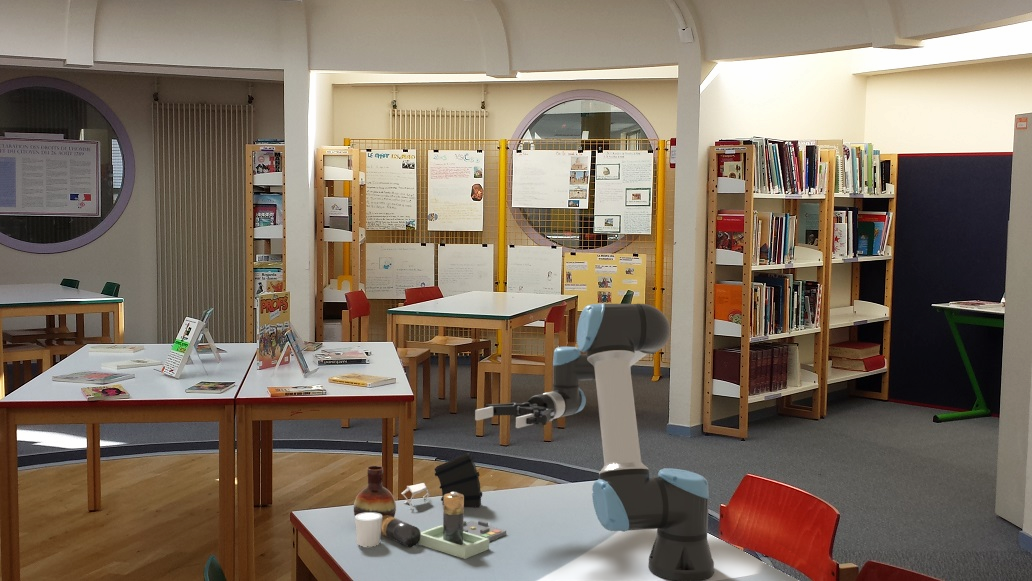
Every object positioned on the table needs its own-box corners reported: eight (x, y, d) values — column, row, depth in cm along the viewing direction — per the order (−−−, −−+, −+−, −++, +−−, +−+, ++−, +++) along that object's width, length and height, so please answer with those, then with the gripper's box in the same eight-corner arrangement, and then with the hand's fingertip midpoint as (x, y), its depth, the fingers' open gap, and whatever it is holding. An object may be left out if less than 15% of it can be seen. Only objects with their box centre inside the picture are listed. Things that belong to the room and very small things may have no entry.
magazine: (490, 503, 261) (468, 454, 261) (449, 520, 263) (427, 472, 263) (492, 499, 265) (471, 451, 265) (451, 516, 267) (430, 469, 267)
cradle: (506, 534, 240) (506, 527, 240) (483, 543, 233) (483, 536, 233) (471, 524, 248) (471, 517, 248) (448, 532, 241) (448, 526, 241)
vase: (358, 517, 252) (358, 461, 251) (398, 518, 251) (399, 462, 250) (349, 531, 241) (349, 472, 240) (391, 532, 240) (392, 473, 239)
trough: (489, 549, 229) (489, 538, 229) (464, 558, 222) (465, 548, 222) (441, 534, 239) (441, 524, 239) (416, 543, 232) (417, 533, 232)
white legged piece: (401, 498, 270) (402, 481, 270) (430, 498, 271) (430, 482, 270) (398, 511, 258) (398, 493, 258) (428, 511, 259) (429, 494, 258)
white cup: (366, 550, 227) (366, 522, 227) (348, 543, 232) (349, 515, 231) (388, 543, 232) (388, 516, 232) (370, 536, 237) (370, 509, 236)
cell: (467, 543, 231) (467, 493, 230) (451, 548, 227) (452, 496, 226) (454, 538, 234) (455, 488, 233) (438, 542, 231) (439, 492, 230)
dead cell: (420, 544, 232) (420, 525, 231) (404, 549, 228) (404, 529, 228) (391, 531, 241) (391, 512, 241) (375, 535, 238) (375, 516, 237)
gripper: (582, 427, 249) (534, 440, 232) (509, 414, 264) (460, 426, 247) (582, 399, 248) (535, 411, 231) (510, 388, 264) (460, 398, 247)
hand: (496, 418), depth 239 cm, fingers open, 13 cm apart
